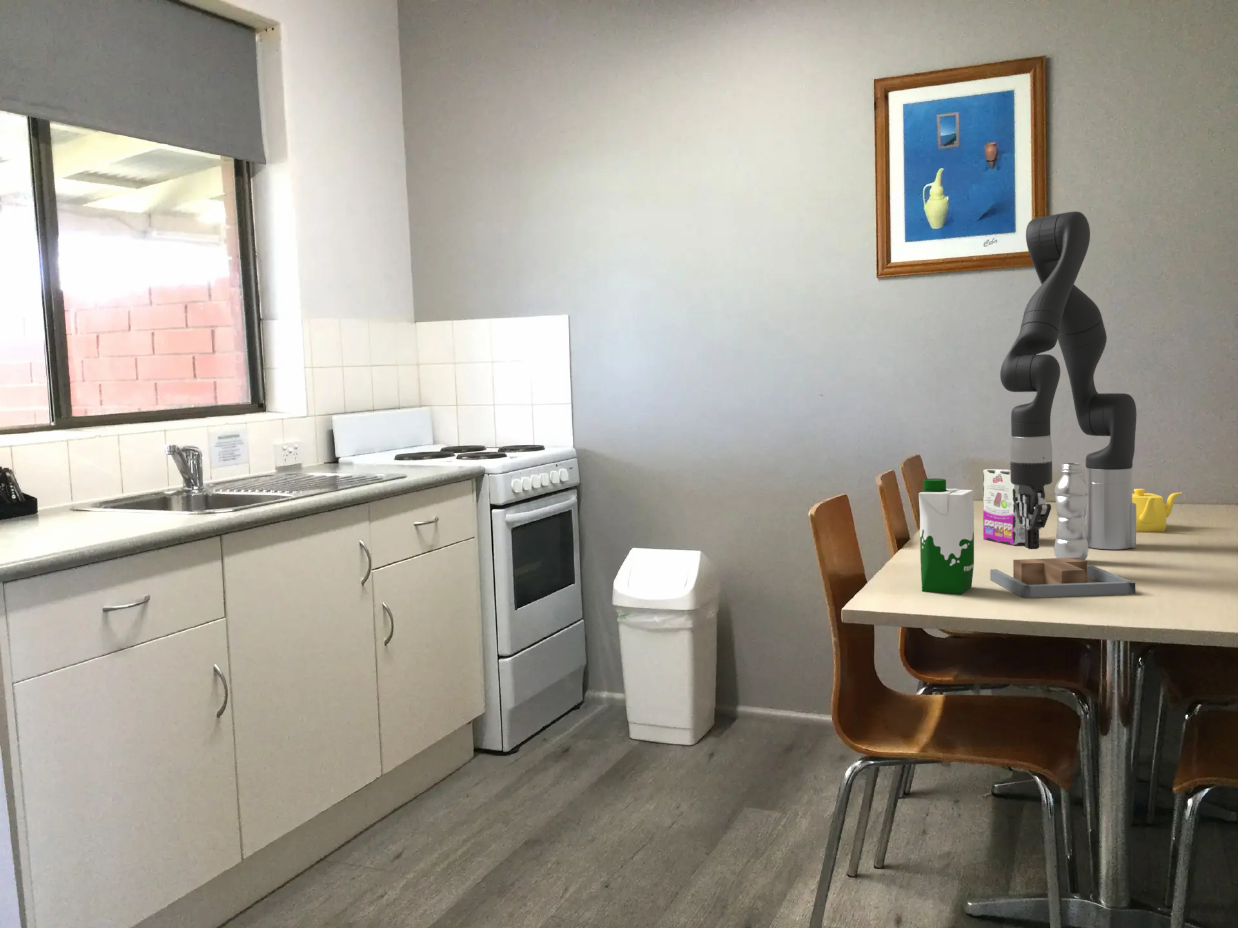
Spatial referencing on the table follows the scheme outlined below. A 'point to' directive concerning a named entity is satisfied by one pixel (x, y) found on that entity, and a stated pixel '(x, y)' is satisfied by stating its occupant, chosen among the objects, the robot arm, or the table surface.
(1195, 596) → the table surface
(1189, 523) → the table surface
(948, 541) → the soya milk
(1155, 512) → the teapot
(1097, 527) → the robot arm
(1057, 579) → the t block
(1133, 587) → the bay frame
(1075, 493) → the plastic bottle
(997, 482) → the candy bar box
